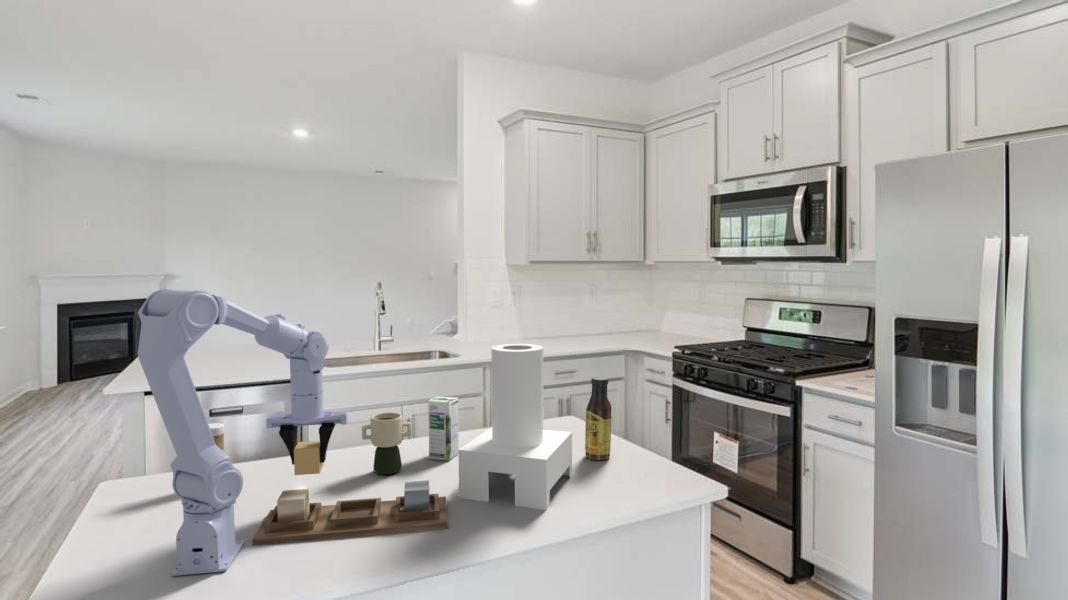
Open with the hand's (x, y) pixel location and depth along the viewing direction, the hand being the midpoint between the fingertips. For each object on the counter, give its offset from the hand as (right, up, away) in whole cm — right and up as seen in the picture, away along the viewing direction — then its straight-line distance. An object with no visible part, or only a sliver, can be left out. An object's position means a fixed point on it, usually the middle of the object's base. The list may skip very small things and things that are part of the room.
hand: (309, 461), depth 113 cm
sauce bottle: (+59, -7, +30) cm, 67 cm away
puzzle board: (+11, -10, -5) cm, 15 cm away
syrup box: (+21, -7, +31) cm, 38 cm away
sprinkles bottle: (-25, -9, +12) cm, 29 cm away
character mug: (+10, -8, +20) cm, 24 cm away
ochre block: (0, -2, 0) cm, 2 cm away
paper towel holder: (+40, -9, +12) cm, 43 cm away
